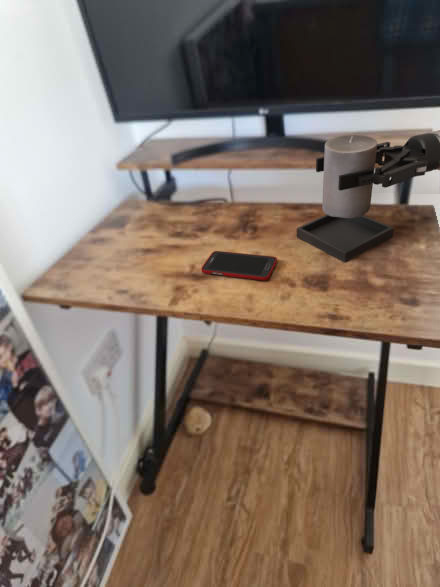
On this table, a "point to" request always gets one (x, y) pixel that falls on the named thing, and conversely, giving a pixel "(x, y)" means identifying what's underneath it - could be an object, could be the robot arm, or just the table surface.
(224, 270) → the cell phone
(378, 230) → the candle pad
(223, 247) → the table surface
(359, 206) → the pillar candle
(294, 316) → the table surface
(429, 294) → the table surface
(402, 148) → the robot arm
